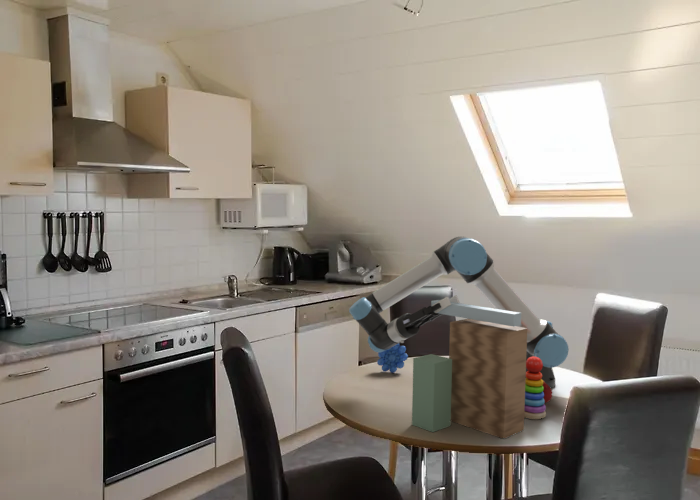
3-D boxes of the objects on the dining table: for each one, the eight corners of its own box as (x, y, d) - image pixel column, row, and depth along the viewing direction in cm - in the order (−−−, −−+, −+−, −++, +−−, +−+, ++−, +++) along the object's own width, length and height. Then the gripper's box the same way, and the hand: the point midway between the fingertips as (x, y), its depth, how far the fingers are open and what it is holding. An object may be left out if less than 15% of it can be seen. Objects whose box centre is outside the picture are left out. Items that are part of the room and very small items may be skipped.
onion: (552, 402, 212) (553, 379, 211) (551, 408, 207) (552, 383, 206) (533, 400, 214) (534, 377, 213) (532, 405, 208) (533, 381, 208)
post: (411, 424, 190) (413, 358, 188) (429, 418, 195) (431, 354, 194) (432, 432, 184) (434, 363, 182) (450, 425, 189) (452, 359, 188)
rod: (431, 312, 201) (431, 301, 201) (438, 310, 203) (438, 299, 203) (513, 326, 179) (514, 314, 179) (520, 325, 181) (521, 312, 181)
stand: (447, 420, 194) (450, 322, 192) (467, 412, 201) (470, 318, 198) (503, 438, 180) (507, 333, 177) (523, 430, 186) (527, 328, 184)
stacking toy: (515, 411, 203) (517, 353, 201) (540, 411, 203) (542, 353, 202) (524, 420, 195) (526, 359, 193) (550, 420, 195) (552, 359, 194)
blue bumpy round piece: (408, 370, 249) (408, 340, 248) (406, 375, 243) (407, 344, 242) (378, 368, 251) (379, 338, 250) (376, 373, 245) (376, 342, 244)
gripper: (424, 334, 217) (474, 308, 201) (390, 341, 206) (440, 314, 190) (416, 314, 219) (465, 286, 203) (382, 320, 208) (431, 291, 192)
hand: (453, 300), depth 197 cm, fingers closed on rod, 3 cm apart
